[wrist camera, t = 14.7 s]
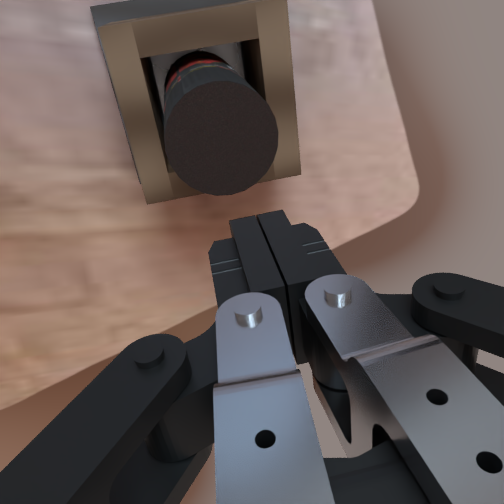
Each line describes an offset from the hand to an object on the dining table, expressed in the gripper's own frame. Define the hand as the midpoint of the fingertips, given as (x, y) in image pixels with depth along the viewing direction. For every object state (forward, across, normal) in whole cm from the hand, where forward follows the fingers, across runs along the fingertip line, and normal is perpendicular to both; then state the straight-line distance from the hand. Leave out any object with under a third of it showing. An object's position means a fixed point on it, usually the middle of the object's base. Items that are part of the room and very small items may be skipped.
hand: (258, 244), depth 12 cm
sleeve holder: (+29, 0, +1) cm, 29 cm away
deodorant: (+27, 0, 0) cm, 27 cm away
